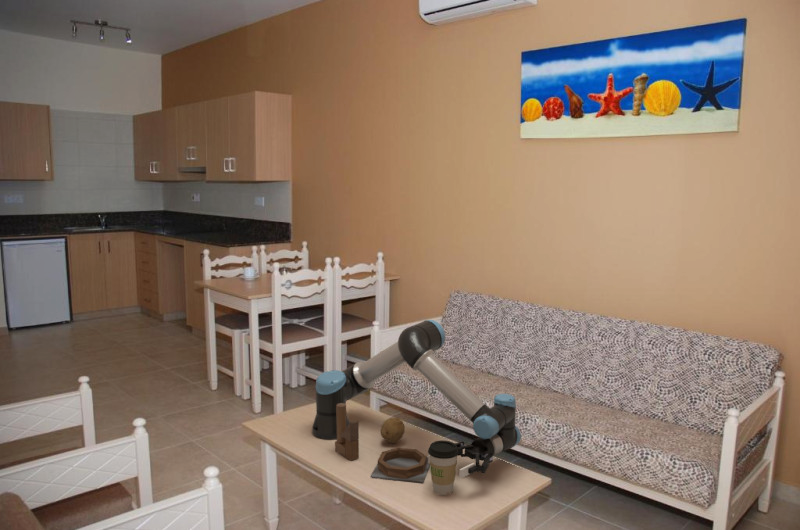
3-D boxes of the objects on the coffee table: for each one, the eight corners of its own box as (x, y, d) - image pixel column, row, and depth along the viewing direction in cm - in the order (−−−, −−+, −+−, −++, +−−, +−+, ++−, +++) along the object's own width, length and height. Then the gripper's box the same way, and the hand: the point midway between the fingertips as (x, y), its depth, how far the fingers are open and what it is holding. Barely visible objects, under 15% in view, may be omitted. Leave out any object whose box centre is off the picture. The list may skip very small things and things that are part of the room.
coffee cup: (427, 482, 200) (427, 439, 198) (457, 483, 200) (457, 439, 198) (427, 498, 190) (428, 452, 188) (459, 498, 190) (459, 453, 188)
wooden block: (350, 461, 216) (350, 412, 213) (334, 450, 224) (333, 404, 221) (359, 458, 218) (358, 410, 215) (343, 448, 226) (342, 401, 224)
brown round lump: (384, 449, 225) (384, 424, 223) (377, 440, 233) (377, 415, 232) (407, 446, 228) (407, 420, 226) (399, 436, 236) (399, 412, 235)
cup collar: (383, 454, 221) (383, 444, 220) (432, 459, 217) (432, 449, 217) (370, 477, 204) (370, 467, 203) (423, 483, 200) (423, 473, 199)
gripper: (516, 469, 199) (474, 492, 185) (459, 445, 218) (416, 464, 203) (516, 447, 198) (474, 468, 184) (459, 425, 217) (416, 442, 202)
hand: (444, 466), depth 194 cm, fingers open, 13 cm apart
